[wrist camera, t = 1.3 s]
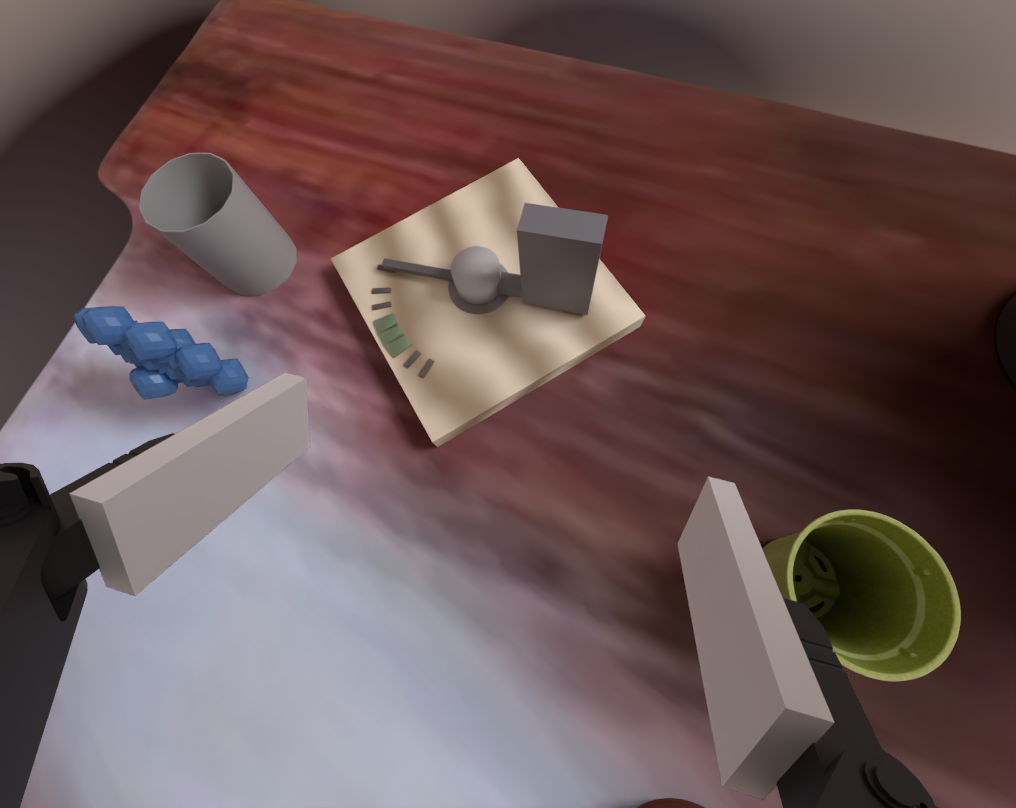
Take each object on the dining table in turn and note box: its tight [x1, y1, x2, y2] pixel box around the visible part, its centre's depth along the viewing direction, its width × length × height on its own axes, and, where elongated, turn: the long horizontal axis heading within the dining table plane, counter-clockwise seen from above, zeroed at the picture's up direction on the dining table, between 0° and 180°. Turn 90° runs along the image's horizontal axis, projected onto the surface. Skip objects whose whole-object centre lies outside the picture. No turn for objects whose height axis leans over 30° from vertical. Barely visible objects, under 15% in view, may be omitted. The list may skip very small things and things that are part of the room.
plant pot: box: [762, 510, 961, 681], centre depth 30 cm, size 9×9×9 cm
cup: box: [139, 153, 296, 296], centre depth 42 cm, size 8×8×10 cm
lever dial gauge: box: [382, 203, 608, 315], centre depth 37 cm, size 20×4×10 cm, turn 76°
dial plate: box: [331, 158, 645, 447], centre depth 43 cm, size 22×22×2 cm
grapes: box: [74, 306, 248, 399], centre depth 37 cm, size 12×7×12 cm, turn 71°
